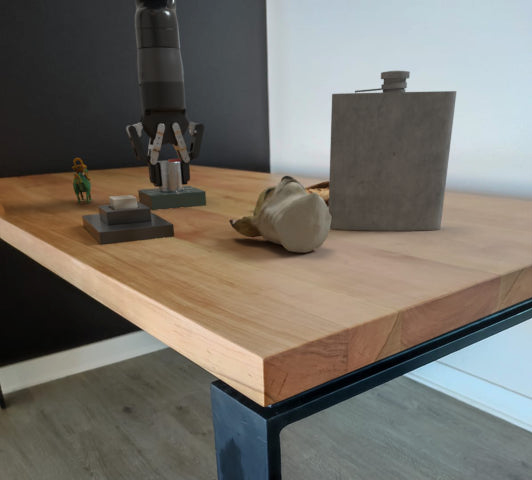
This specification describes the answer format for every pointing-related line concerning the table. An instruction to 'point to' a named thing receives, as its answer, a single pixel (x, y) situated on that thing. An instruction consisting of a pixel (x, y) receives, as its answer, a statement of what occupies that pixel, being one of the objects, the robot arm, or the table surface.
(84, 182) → the figurine
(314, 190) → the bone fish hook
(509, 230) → the table surface
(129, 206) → the cream rectangular block
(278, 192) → the ceramic sculpture
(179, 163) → the silver cylinder cluster
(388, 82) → the hip flask
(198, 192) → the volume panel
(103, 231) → the dark grey stepped block
